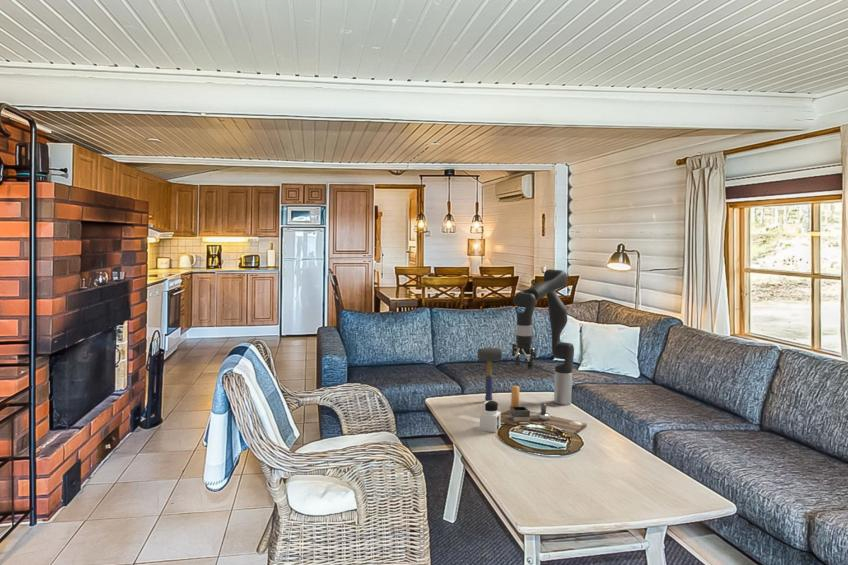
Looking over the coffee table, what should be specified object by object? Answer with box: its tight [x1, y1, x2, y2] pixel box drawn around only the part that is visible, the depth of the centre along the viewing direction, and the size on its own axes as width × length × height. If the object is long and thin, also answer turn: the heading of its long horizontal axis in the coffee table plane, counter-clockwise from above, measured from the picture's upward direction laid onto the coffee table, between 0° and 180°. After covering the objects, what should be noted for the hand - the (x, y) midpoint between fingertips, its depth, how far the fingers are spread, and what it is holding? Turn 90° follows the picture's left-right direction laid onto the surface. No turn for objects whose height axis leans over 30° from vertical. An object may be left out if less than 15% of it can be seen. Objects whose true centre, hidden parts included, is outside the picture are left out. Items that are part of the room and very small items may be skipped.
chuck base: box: [500, 409, 588, 436], centre depth 257 cm, size 24×39×2 cm, turn 52°
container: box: [479, 400, 502, 433], centre depth 250 cm, size 8×8×13 cm
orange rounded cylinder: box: [510, 385, 521, 407], centre depth 271 cm, size 4×4×13 cm
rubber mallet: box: [477, 347, 503, 401], centre depth 292 cm, size 12×8×30 cm, turn 97°
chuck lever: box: [509, 402, 551, 422], centre depth 259 cm, size 19×8×7 cm, turn 97°
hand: (523, 367), depth 260 cm, fingers open, 8 cm apart
